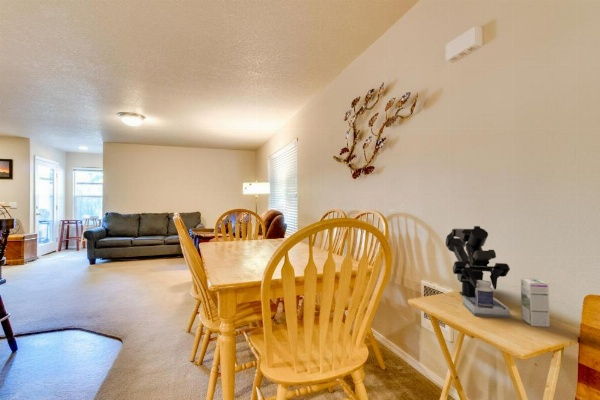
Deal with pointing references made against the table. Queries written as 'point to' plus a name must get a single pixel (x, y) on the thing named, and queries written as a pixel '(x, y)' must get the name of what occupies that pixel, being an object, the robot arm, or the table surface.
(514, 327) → the table surface
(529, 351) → the table surface
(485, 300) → the pill bottle
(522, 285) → the syrup box
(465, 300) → the tray
